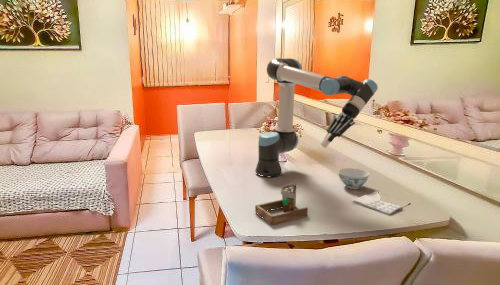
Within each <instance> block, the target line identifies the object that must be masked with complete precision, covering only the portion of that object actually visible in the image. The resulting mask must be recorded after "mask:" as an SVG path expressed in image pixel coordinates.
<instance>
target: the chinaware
mask: <svg viewBox="0 0 500 285" xmlns="http://www.w3.org/2000/svg"><path fill="white" fill-rule="evenodd" d="M338 177H339V179H340V181H341V182H342V183H343V185H345V187H346V188H347V189H351V190H357V189H360V188H361V186H363V185H364V184H366V183H367V181H368V179H369V177H370V172H368V171H366V170H364V169H361V168H354V167H346V168H342V169H341V168H340V169H339V170H338Z"/></svg>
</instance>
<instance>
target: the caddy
mask: <svg viewBox="0 0 500 285" xmlns="http://www.w3.org/2000/svg"><path fill="white" fill-rule="evenodd" d="M281 207H283V200H282V199H279V200H273V201H269V202H264V203H261V204H256V205H255V206H254V208H255V210H254V212H256V213H258V214H259V215H260V216H261V217H263V218H264V219H265V220H266V221H265V220H264V219H263V218H262V219H263V220H264V221H265V222H266V223H270V226H274V225H279V224H282V223H287V222H289V221H294V220H297V219H301V218H305V217H308V215H309V214H308V209H309V208H308V207H307V206H306V207H303V208H302V207H301V208H298V209H295V210H293V211H289V212H281V213H278V214H274V215H273V214H271V213H270V212H269V211H267V210H271V209H275V210H278V209H277V208H280V209H282V208H281ZM271 211H272V210H271ZM256 213H255V214H256ZM259 215H258V216H259ZM260 216H259V217H260ZM261 217H260V218H261Z"/></svg>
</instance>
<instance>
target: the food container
mask: <svg viewBox="0 0 500 285" xmlns="http://www.w3.org/2000/svg"><path fill="white" fill-rule="evenodd" d="M280 194H281V196H282V197H281V200H283V208H282V211H283V213H285V212H289V211H293V210H296V203H297V201H296V200H297V184H296V183H289V184H285V185H283V186H282V187H281V190H280Z"/></svg>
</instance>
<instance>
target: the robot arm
mask: <svg viewBox="0 0 500 285" xmlns="http://www.w3.org/2000/svg"><path fill="white" fill-rule="evenodd" d="M266 73H267V76H268V77H269V78H270V79H272V80H273V81H274V80H275V81H276V83H277V84H278V85H279V90H278V91H279V92H278V119H277V127H276V128H275V130H274V131H269V132H262V133H261V134H259V136H258V142H257V143H258V144H257V145H258V146H257V147H258V159H257V160H258V161H257V163H256V167H255V172H256V173H257V174H260V175H263V176H277V175H280V174H281V173H282V172H283V171H282V167H281V164H280V154H283V153H287V152H291V151H293V150H294V149H296V148H297V147H298V144H299V136H298V135H297V133H296V129H295V128H294V125H293V124H294V106H295V105H294V104H295V87H296V85H299V86H302V87H306V88H309V89H312V90H316V91H319V92H321V93H322V94H323V95H326V96H335V95H344V94H347V95H349V96H351V97H350V98H349V99H348V100H347V102H346V103H345V105H343V107H342V109H341V112H340V113H339V114H338V115H333V116H332V119H331V122H330V123H329V125H328V127H327V128H326V133H327V134H326V135H325V137H324V139H323V140H322V141H321V143H320V145H321V146H322V147H323V148H325V149H326V148H327V147H328V146H329V145H330V143H332V142H333V141H334V139H335V138H337V137H338V138H340V137H341V136H342V135H344V133H346V132H347V131H348V130H349V129H350V128H351V126H352V127H353V126H354V125H355V124H356V122H355V121H354V119H356V118H357V117H358V115H359V114H360V112H362V110H363V109H364V108H365V106H366V105H367V104H368V103H369V101H370V100H371V98H372V97H374V95H375V93H376V92H377V91H378V89H379V87H378V84H377V83H376V82H375V81H374V80H373V79H370V78H365V80H363V81H358V80H357V79H353V78H350V77H349V76H347V75H342V74H340V75H338V76H337V77H330V76H326V75H323V74H319V73H316V72H312V71H309V70H305V69H303V67H302V64H301V63H300V62H299V60H297V59H295V58H273V59H271V60H270V61H269V62H268V63H267V66H266ZM255 172H254V173H255ZM282 174H283V173H282ZM282 174H281V175H282ZM281 175H280V176H281ZM277 177H278V176H277Z"/></svg>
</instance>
